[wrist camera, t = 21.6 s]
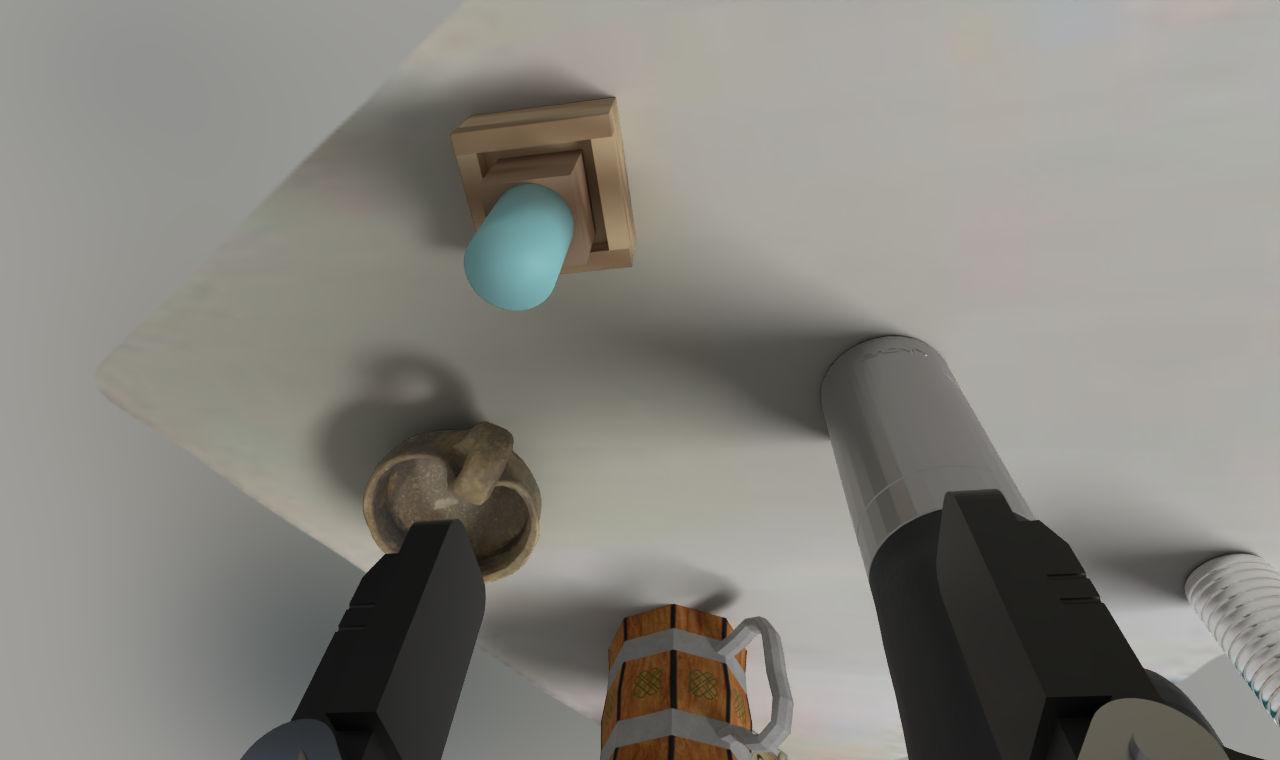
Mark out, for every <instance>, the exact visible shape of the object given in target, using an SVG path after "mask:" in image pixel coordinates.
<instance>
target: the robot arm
mask: <svg viewBox="0 0 1280 760" xmlns="http://www.w3.org/2000/svg"><path fill="white" fill-rule="evenodd" d="M821 405H822V409H823V413H824V416H825V420H826V424H827V428H828V432H829V436H830V440H831V444H832V448H833V451H834V455H835V459H836V463H837V466H838V470H839V474H840V477H841V481H842V485H843V489H844V492H845V496H846V500H847V504H848V507H849V511H850V515H851V518H852V522H853V526H854V530H855V533H856V537H857V541H858V544H859V547H860V551H861V555H862V558H863V562H864V566H865V569H866V573H867V577H868V581H869V584H870V588H871V592H872V595H873V599H874V603H875V607H876V611H877V616H878V621H879V625H880V630H881V635H882V640H883V645H884V650H885V654H886V658H887V663H888V667H889V671H890V675H891V679H892V683H893V687H894V690H895V695H896V699H897V704H898V709H899V713H900V718H901V723H902V727H903V732H904V737H905V743H906V748H907V753H908V758H909V760H1264V759H1260V758H1256V757H1252V756H1249V755H1245V754H1242V753H1239V752H1236V751H1234V750H1231V749H1229V748H1226V747H1224V745H1223V743H1222V742H1221V740H1220V739H1219V737H1218V736H1217V734H1216V733H1215V731H1214V729H1213V728H1212V727H1211V725H1210V724H1209V722H1208V721H1207V720H1206V719H1205V717H1204V716H1203V715H1202V714H1201V712H1200V711H1199V710H1198V709H1197V707H1196V706H1195V705H1194V704H1193V703H1192V701H1191V700H1190V699H1189V698H1188V697H1187V696H1186V695H1185V694H1184V693H1183V692H1182V691H1181V690H1180V689H1179V688H1178V687H1177V686H1175V685H1174V684H1173V683H1171V682H1170V681H1168V680H1167V679H1165V678H1164V677H1163V676H1161V675H1159V674H1157V673H1156V672H1153V671H1150V670H1148V669H1144V668H1143V667H1142V665H1141V663H1140V662H1139V660H1138V659H1137V657H1136V655H1135V654H1134V652H1133V650H1132V649H1131V647H1130V645H1129V644H1128V642H1127V640H1126V639H1125V637H1124V635H1123V634H1122V632H1121V630H1120V629H1119V627H1118V625H1117V624H1116V622H1115V620H1114V619H1113V617H1112V615H1111V614H1110V612H1109V611H1108V609H1107V607H1106V606H1105V604H1104V603H1101V601H1100V596H1099V594H1098V592H1097V591H1096V589H1095V587H1094V586H1093V584H1092V582H1091V581H1090V579H1087V578H1086V572H1085V571H1084V569H1083V567H1082V566H1081V564H1080V562H1079V561H1078V559H1077V558H1076V556H1075V554H1074V553H1073V551H1072V549H1071V548H1070V546H1069V544H1068V543H1066V542H1065V541H1064V540H1063V539H1062V538H1060V537H1059V536H1058V535H1057V534H1055V533H1054V532H1053V531H1052V530H1051V529H1049V528H1048V527H1047V526H1046V525H1044V524H1043V523H1042V522H1041V521H1040V520H1036V519H1035V517H1034V515H1033V514H1032V512H1031V510H1030V508H1029V507H1028V505H1027V503H1026V501H1025V500H1024V498H1023V497H1022V495H1021V493H1020V492H1019V490H1018V488H1017V486H1016V485H1015V483H1014V481H1013V479H1012V478H1011V476H1010V474H1009V472H1008V471H1007V469H1006V467H1005V465H1004V464H1003V462H1002V460H1001V458H1000V457H999V455H998V453H997V451H996V450H995V448H994V446H993V444H992V443H991V441H990V439H989V437H988V436H987V434H986V432H985V430H984V429H983V427H982V425H981V423H980V422H979V420H978V418H977V416H976V415H975V413H974V411H973V409H972V408H971V406H970V404H969V402H968V401H967V399H966V397H965V395H964V394H963V392H962V390H961V388H960V386H959V385H958V383H957V381H956V379H955V378H954V376H953V374H952V372H951V371H950V369H949V367H948V366H947V364H946V362H945V360H944V359H943V358H942V357H941V355H940V354H939V353H938V352H937V351H936V350H935V349H933V348H932V347H931V346H929V345H928V344H926V343H924V342H921V341H919V340H916V339H913V338H908V337H902V336H887V337H881V338H875V339H871V340H869V341H866V342H863V343H860V344H858V345H856V346H855V347H853V348H851V349H849V350H848V351H846V352H845V353H844V354H843V355H842V356H840V357H839V358H838V359H837V360H836V361H835V362H834V364H833V365H832V366H831V367H830V368H829V370H828V372H827V374H826V376H825V378H824V380H823V383H822V387H821ZM485 599H486V596H485V584H484V580H483V576H482V574H481V571H480V568H479V565H478V563H477V560H476V557H475V554H474V551H473V549H472V546H471V543H470V540H469V538H468V535H467V532H466V529H465V527H464V524H463V523H462V522H461V521H460V520H459V519H450V520H433V521H417V522H415V523H413V524H412V526H411V527H410V529H409V531H408V533H407V535H406V537H405V540H404V542H403V544H402V546H401V548H400V550H399V553H389V554H385V555H384V556H383V557H382V558H381V559H380V560H379V561H378V562H377V563H376V564H375V565H374V566H373V567H372V568H371V569H370V570H369V571H368V572H367V573H366V574H365V575H364V577H363V578H362V580H361V582H360V584H359V586H358V588H357V590H356V592H355V594H354V596H353V598H352V600H351V602H350V608H349V609H348V610H346V612H345V614H344V616H343V618H342V620H341V622H340V624H339V630H338V632H335V634H334V636H333V638H332V640H331V642H330V644H329V646H328V648H327V650H326V652H325V654H324V656H323V658H322V660H321V662H320V664H319V666H318V668H317V670H316V672H315V674H314V676H313V678H312V680H311V682H310V684H309V686H308V688H307V690H306V692H305V694H304V696H303V698H302V700H301V702H300V704H299V706H298V708H297V710H296V712H295V714H294V716H293V718H292V719H291V721H290V722H287V723H285V724H282V725H280V726H278V727H276V728H274V729H272V730H271V731H269V732H268V733H266V734H265V735H264V736H262V737H261V738H260V739H258V740H257V741H256V742H255V743H254V744H253V745H252V746H251V747H250V748H249V749H248V750H247V752H246V753H245V754H244V755H243V757H242V758H241V759H240V760H441V757H442V754H443V751H444V747H445V744H446V740H447V737H448V734H449V730H450V727H451V724H452V720H453V717H454V713H455V710H456V707H457V703H458V700H459V697H460V693H461V690H462V686H463V683H464V679H465V676H466V673H467V669H468V666H469V663H470V659H471V656H472V653H473V649H474V646H475V643H476V639H477V636H478V633H479V629H480V626H481V622H482V619H483V615H484V610H485Z"/></svg>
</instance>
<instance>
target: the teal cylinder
mask: <svg viewBox="0 0 1280 760" xmlns="http://www.w3.org/2000/svg"><path fill="white" fill-rule="evenodd" d="M573 233H574V219H573V215H572V212H571V210H570V208H569V206H568V204H567V203H566V201H565V200H564V199H563V198H562V197H561V196H560V195H559V194H558V193H557V192H555V191H554V190H552V189H550V188H548V187H546V186H543V185H539V184H533V183H526V184H520V185H517V186H514V187H512V188H510V189H509V190H507V191H506V192H505V193H504V194H503V195H502V196H501V197H500V198H499V200H498V201H497V203H496V204H495V206H494V207H493V209H492V210H491V212H490V213H489V215H488V216H487V217H486V219H485V220H484V222H483V223H482V225H481V226H480V228H479V229H478V231H477V232H476V234H475V235H474V237H473V238H472V239H471V241H470V243H469V244H468V246H467V249H466V252H465V256H464V268H465V273H466V276H467V279H468V281H469V283H470V285H471V286H472V288H473V289H474V290H475V292H476V293H477V294H478V295H479V296H480V297H481V298H483V299H484V300H485V301H487V302H488V303H490V304H492V305H494V306H496V307H498V308H502V309H506V310H512V311H521V310H527V309H530V308H533V307H535V306H537V305H539V304H541V303H542V302H543V301H545V300H546V299H547V298H548V296H549V295H550V294H551V292H552V291H553V288H554V286H555V284H556V281H557V278H558V275H559V273H560V270H561V267H562V265H563V262H564V259H565V257H566V254H567V251H568V248H569V246H570V243H571V240H572V237H573Z"/></svg>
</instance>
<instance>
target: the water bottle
mask: <svg viewBox="0 0 1280 760" xmlns="http://www.w3.org/2000/svg"><path fill="white" fill-rule="evenodd" d="M1184 589H1185V595H1186V598H1187V600H1188V602H1189V603H1190V605H1191V606H1192V608H1193V610H1194V611H1195V613H1196V614H1197V615H1198V616H1199V618H1200V620H1201V621H1202V622H1203V623H1204V624H1205V626H1206V628H1207V629H1208V631H1209V632H1210V633H1211V634H1212V636H1213V637H1214V639H1215V640H1216V641H1217V642H1218V644H1219V646H1220V647H1221V648H1222V650H1223V651H1224V652H1225V653H1226V655H1227V657H1228V658H1229V659H1230V661H1231V662H1232V663H1233V665H1234V666H1235V668H1236V669H1237V670H1238V671H1239V672H1240V674H1241V676H1242V677H1243V679H1244V680H1245V681H1246V682H1247V683H1248V685H1249V687H1250V688H1251V690H1252V691H1253V692H1254V693H1255V695H1256V696H1257V698H1258V699H1259V701H1260V702H1261V703H1262V704H1263V705H1264V707H1265V709H1266V710H1267V712H1268V713H1269V714H1270V715H1271V716H1272V718H1273V720H1274V721H1275V723H1276V724H1277V725H1278V726H1279V727H1280V573H1279V572H1278V571H1277V570H1276V569H1275V568H1274V567H1273V566H1272V565H1271V564H1270V563H1268V562H1267V561H1266V560H1264V559H1262V558H1260V557H1258V556H1255V555H1250V554H1229V555H1224V556H1220V557H1217V558H1214V559H1212V560H1209V561H1207V562H1205V563H1204V564H1202V565H1200V566H1199V567H1198V568H1196V569H1195V570H1194V571H1193V572H1192V573H1191V574H1190V576H1189V577H1188V579H1187V580H1186V583H1185V588H1184Z"/></svg>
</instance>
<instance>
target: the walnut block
mask: <svg viewBox="0 0 1280 760" xmlns="http://www.w3.org/2000/svg"><path fill="white" fill-rule="evenodd" d="M526 183H533V184H539V185H543V186H546V187H548V188H550V189H552V190H554V191H555V192H557V193H558V194H559V195H560V196H561V197H562V198H563V199H564V200H565V201H566V203H567V204H568V206H569V208H570V210H571V212H572V215H573V219H574V233H573V237H572V240H571V243H570V246H569V248H568V251H567V254H566V257H565V259H564V262H563V265H562V266H571V265H582V264H586V263H587V260H588V257H589V254H590V250H591V247H592V244H593V240H594V237H595V234H596V227H595V221H594V215H593V209H592V203H591V197H590V191H589V185H588V179H587V173H586V167H585V161H584V155H583V149H579V150H571V151H562V152H553V153H544V154H535V155H527V156H518V157H509V158H500V159H498V160H497V162H496V163H495V164H494V165H493V167H492V168H491V169H490V170H489V172H488V173H487V174H486V175H485V177H484V178H483V179H482V180H481V182H480V183H479V184H478V189H479V193H480V197H481V201H482V205H483V209H484V213H485V217H487V216H488V215H489V213H490V212H491V210H492V209H493V207H494V206H495V204H496V203H497V201H498V200H499V198H500V197H501V196H502V195H503V194H504V193H505V192H506V191H507V190H509V189H510V188H512V187H514V186H517V185H520V184H526Z"/></svg>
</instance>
